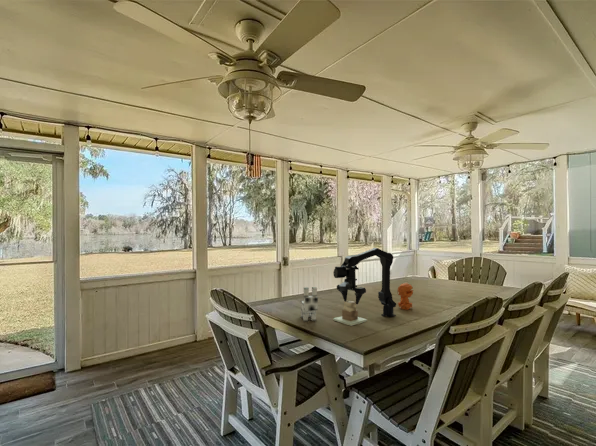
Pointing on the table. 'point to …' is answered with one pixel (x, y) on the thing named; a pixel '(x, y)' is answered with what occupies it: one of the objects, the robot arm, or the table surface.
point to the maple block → (350, 306)
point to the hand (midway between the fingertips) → (351, 303)
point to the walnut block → (349, 315)
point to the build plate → (353, 322)
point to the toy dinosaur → (405, 296)
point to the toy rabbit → (309, 304)
